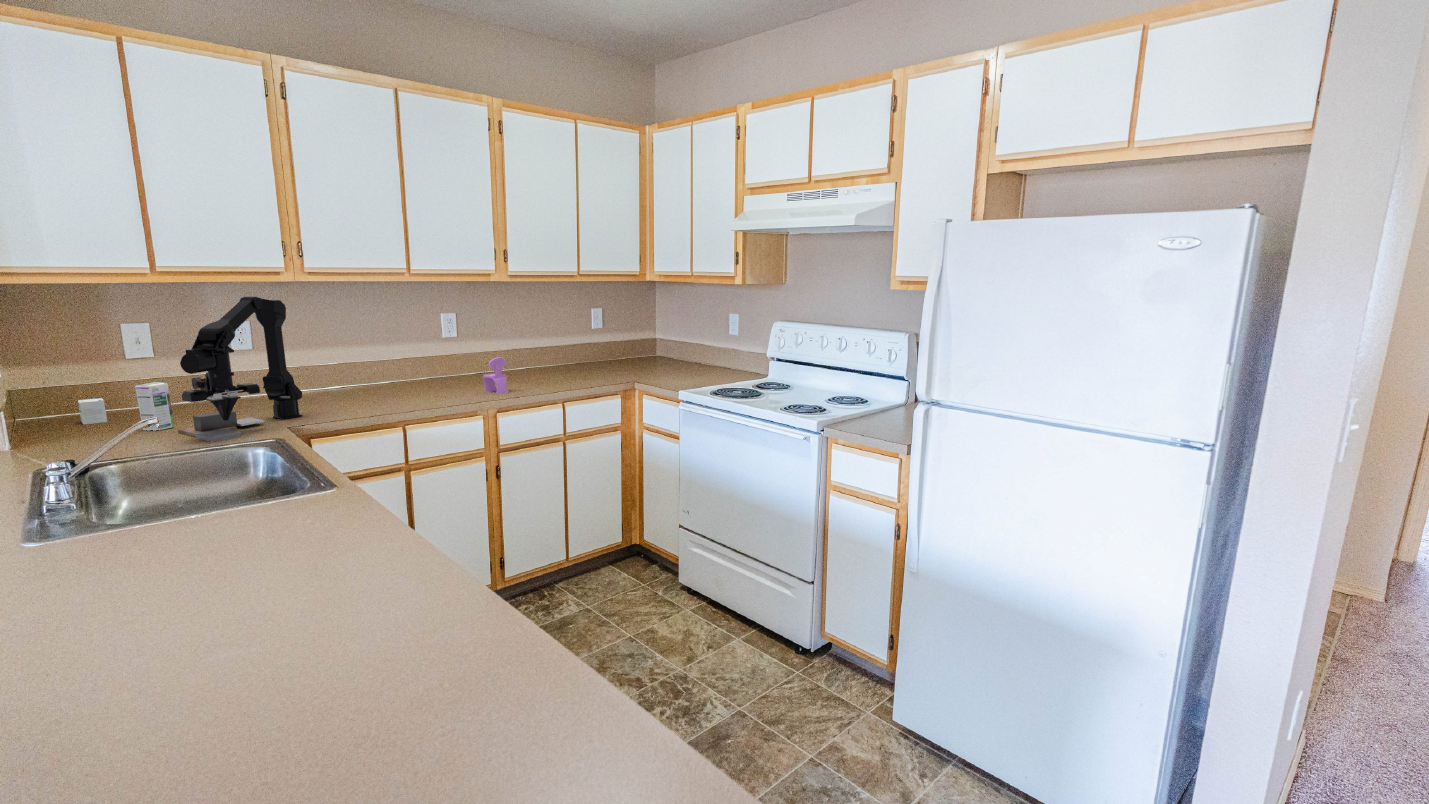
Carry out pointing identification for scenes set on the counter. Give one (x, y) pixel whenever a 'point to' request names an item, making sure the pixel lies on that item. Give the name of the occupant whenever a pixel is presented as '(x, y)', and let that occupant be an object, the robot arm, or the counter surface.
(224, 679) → the counter surface
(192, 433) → the plate
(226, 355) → the robot arm
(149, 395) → the syrup box
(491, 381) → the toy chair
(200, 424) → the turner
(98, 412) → the skincare box
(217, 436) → the tile
